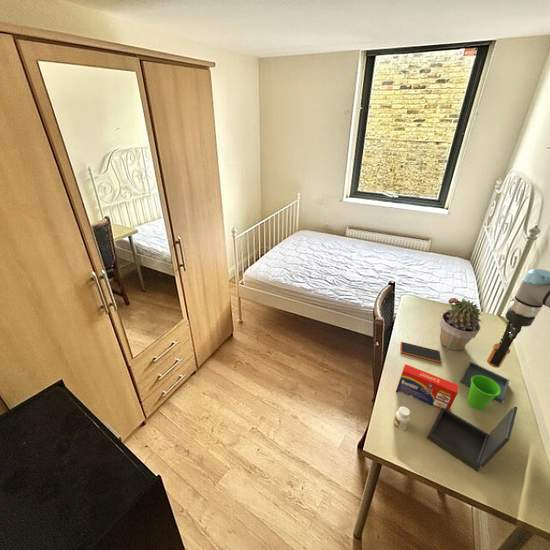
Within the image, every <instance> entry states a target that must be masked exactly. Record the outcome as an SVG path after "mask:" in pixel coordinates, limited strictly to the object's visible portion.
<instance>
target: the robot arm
mask: <svg viewBox="0 0 550 550" xmlns="http://www.w3.org/2000/svg"><path fill="white" fill-rule="evenodd" d="M510 301H511V303H510V306H509V307H508V309H507V311H506V312H505V314H504V316H505V319H506V320H507V321H508V322H507V323H506V326H505V330H504V332H503V335H502V337H501V338H500V341H499V342H498V343H499V344H500V346H499V348H498V349H496V348H495V351H496V352H495V354H494V356H493V357H492V359H491V361H490V363H491V364H493V365H495V366H499V364H500V362H501V361H502V359H503V357H504V356H505V355H506V352H507V351H508V349H510V347H511V346H512V344H513V342H514V341H515V339H516V338H517V336H518V335H519V334H520V333H521V331H522V327H525V328H527V327H530V326H532V325H533V323H534V321H535V319H536V317H537V316H538V314H539V313H540V311H541V309H542V308H543V306H544V307H547V308H549V309H550V270H546V269H541V268H533V269H529V270H528V272H527V273H526V275H525V276H524V277H523V279H522V281H521V283H520V286H519V287H518V289H517V291H516V294H515V296H514V298H511V299H510Z"/></svg>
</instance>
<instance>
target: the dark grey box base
mask: <svg viewBox="0 0 550 550" xmlns="http://www.w3.org/2000/svg"><path fill="white" fill-rule="evenodd" d="M489 434H490V433H487V432H486V431H484V430H482V429H481V428H479V427H477V426H475V425H474V424H472V423H470V422H469V421H467V420H465V419H463V418H462V417H460V416H458V415H456V414H455V413H453V412H452V411H450V410H449V411H448V410H446V409H445V408H443V407H442V409H440V410H439V413H438V415H437V416H436V419H435V421H434V422H433V425H432V426H431V428H430V431H429V433H428V435H427V437H426V439H427V440H429V441H430V442H431V443H433V444H434V445H436V446H438V447H439V448H441V449H442V450H443V451H444V452H446V453H448V454H449V455H451V456H452V457H454V458H455V459H457V460H459V461H460V462H462V463H463V464H464V465H466V466H468V467H469V468H470V469H472V470H473V471H475V472H476V473H477V472H479V470H480V469H481V468H482V467H481V466H480V463H481V460H482V456H483V453H484V450H485V447H486V444H487V441H488V438H489Z"/></svg>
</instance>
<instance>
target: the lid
mask: <svg viewBox="0 0 550 550" xmlns="http://www.w3.org/2000/svg"><path fill="white" fill-rule="evenodd" d="M517 411H518V407H517V406H516V405H514V406H513V407H512V408H511V409H510V410H509V411H508V412H507V414H506V415H505V416H504V417H503V418H502V419H501V420H500V421H499V422H498V423H497V425H496V426H495V427H494V428H493V429H492V430H491V431H490V432H489V433H488V434H489V438H488V441H487V444H486V447H485V450H484V453H483V456H482V460H481V463H480V466H481V467H480V468H484V467H485V466H486V464H488V463H489V462H490V460H491V459H493V457H494V456H496V454H497V453H499V452H500V450H501V449H503V448H504V447H505V446H506V444H507V443H508V442H510V440H511V435H512V431H513V428H514V424H515V419H516V415H517Z"/></svg>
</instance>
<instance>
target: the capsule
mask: <svg viewBox="0 0 550 550" xmlns="http://www.w3.org/2000/svg"><path fill="white" fill-rule="evenodd" d="M492 346H493V348H492V350H491V352H490V354H489V355H488V358H487V360H486V363H487V364H488V365H489V366H491V367H492V368H496V369H498V368H500V367H501V366H502V364H503V363H504V361H505V360H506V358H507V356H508V355H509V354H510V353H511V349H510V348H509V349H508V351H507V352H506V355H505V356H504V357H503V359H502V361H501V362H500V364H499V366H495V365H493V364H491V363H490V361H491V359H492V357H493V356H494V354H495V352H496V351H495V348H496V349H498V348H499V346H500V344H499V342H496V343H494V344H493V345H492Z"/></svg>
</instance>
